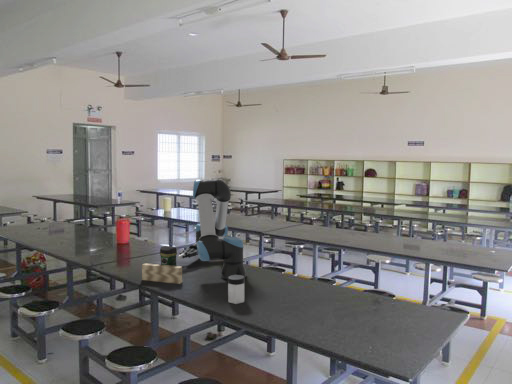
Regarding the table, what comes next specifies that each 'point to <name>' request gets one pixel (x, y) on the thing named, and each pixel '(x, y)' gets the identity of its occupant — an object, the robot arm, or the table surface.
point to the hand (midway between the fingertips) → (179, 258)
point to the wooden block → (162, 273)
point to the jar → (236, 289)
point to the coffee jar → (168, 255)
